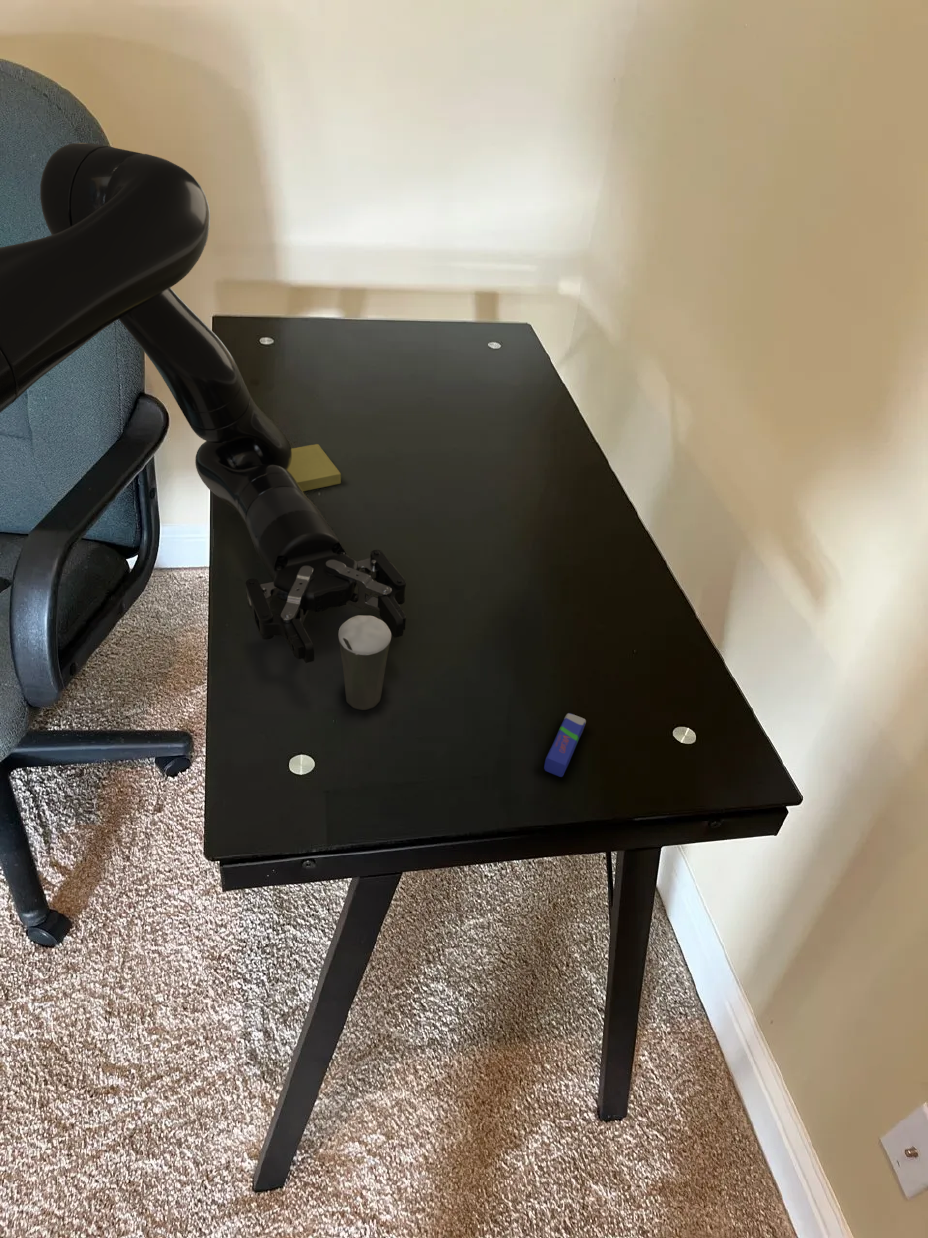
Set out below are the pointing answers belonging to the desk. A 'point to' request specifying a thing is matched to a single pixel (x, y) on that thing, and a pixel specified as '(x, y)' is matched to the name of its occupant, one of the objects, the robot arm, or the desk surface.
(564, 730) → the eraser
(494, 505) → the desk surface
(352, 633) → the milkshake
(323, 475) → the note pad
